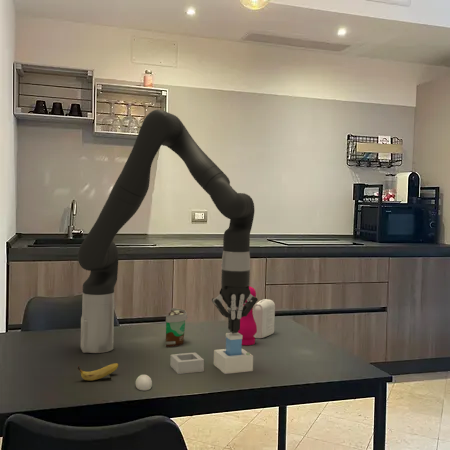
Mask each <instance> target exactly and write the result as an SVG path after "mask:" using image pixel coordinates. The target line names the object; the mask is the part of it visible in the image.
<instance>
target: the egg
mask: <svg viewBox="0 0 450 450" xmlns="http://www.w3.org/2000/svg"><path fill="white" fill-rule="evenodd" d="M152 386H153V381H152V378H151V377H150V376H149V375H147V374H140V375H139V376H138V377H137V378H136V380H135V388H136V389H137V390H139V391H144V392H145V391H149V390H150V389H151V388H152Z"/></svg>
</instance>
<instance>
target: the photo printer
mask: <svg viewBox="0 0 450 450" xmlns="http://www.w3.org/2000/svg"><path fill="white" fill-rule="evenodd" d="M275 315H276V304H275V302H274V300H272V299H266V298H264V299H261V300H259V301H257V302H256V303H255V305H254V306H253V317H254V320H255V323H256V326H257V332H256V334H255V335H254V336H253V337H255V339H262V338H263V339H264V338H266V337H268V336H271V335H273V334H274V333H275V318H276V317H275Z"/></svg>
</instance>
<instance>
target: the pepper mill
mask: <svg viewBox="0 0 450 450" xmlns="http://www.w3.org/2000/svg"><path fill="white" fill-rule="evenodd" d="M250 285H251V283H249V289H250V292H251V293H250V294H251V295H253V296H254V297H256V296H257V292H256V289H255V288H254V287H252V286H250ZM256 298H257V297H256ZM246 302H247V300H246V301H245V303H244V304H243V306H244V305H245V304H246ZM253 309H254V307H253V308H252V309H251V310H250V312H249V313H248V315H247V316H244V317H242V318H241V319H240V330H239V331H238V333H239V334H241V335H242V346H253V345H255V343H256V338H255V337H254V335H255V334H256V332H257V326H256V323H255V320H254V317H253Z"/></svg>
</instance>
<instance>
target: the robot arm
mask: <svg viewBox="0 0 450 450" xmlns="http://www.w3.org/2000/svg"><path fill="white" fill-rule="evenodd" d="M161 146H164V147H167V148H169V150H171V151H172V152H174V153H175V154H176V155H177V156H178V157H179V158H180V159H181V160H182V161H183V163H184V165H185V166H186V167H187V170H188V171H189V174H191V176H192V178H193V179H194V180H195V182H197V183H198V185H199V186H200V187H201V188H202V189H203V190H204V191H205V193H207V194H208V195H209V197H210V199H211V201H212V202H213V204H214V206H215V207H216V209H217V210H218V211H219V212H220V213H221V215H223V216H224V218H226V219H229V225H228V227H227V229H225V231H224V233H223V239H222V240H223V242H222V245H223V246H222V250H223V251H222V257H221V265H220V267H221V280H220V281H221V283H220V285H221V287H220V290H219V294H218V295H217V296H216V297H212V298H211V302H212V304H213V305H214V306H215V307H216V309H217V310H218V311H219V313H220V315H222V316H223V317H225V318H226V319H227V320H228V322H227V324H228V328H227V329H228V331H229V333H238V331H239V330H240V319H241V318H242V317H244V316H247V315H248V313H249V312H250V310H251V309H252V308H253V309H254V306H255V304H256V303H257V302H259V301H258V298H257V297H254V296H253V295H251V294H250V293H251V292H250V289H249V286H250V285H249V283H250V280H251V279H250V278H251V277H250V276H251V272H250V271H251V254H250V249H251V248H250V242H251V241H250V239H251V238H250V237H251V236H250V235H251V231H252V228H253V223H254V217H255V203H254V200H253V198H252V197H251V196H250V195H249V194H247V193H245V192H243V193H242V192H237V191H236V190H235V189H234V188H233V187H232V186H231V181H230V179H229V177H228V176H227V174H226V173H224V172H223V170H222V169H221V167H219V166H218V165H217V164H216V163H215V162H214V161H213V160H212V159H211V157H209V156H208V154H206V153H205V151H203V149H202V148H201V147H200V146H199V144H198V143H197V142H196V141H195V140H194V138H193V137H192V135H191V133H190V132H189V131H188V129H187V127H186V126H185V125H184V124H183V122H182V120H181V119H180V118H179V116H176V115H174V114H173V113H170V112H168V111H165V110H163V109H154V110H152V111H150V112H149V113H148V114H147V115H146V116H145V118H144V120H143V121H142V124H141V126H140V128H139V131H138V133H137V137H136V139H135V142H134V145H133V147H132V149H131V150H130V154H129V155H128V157H127V160H126V162H125V164H124V166H123V168H122V171H121V172H120V174H119V176H118V177H117V179H116V181H115V184H114V185H113V187H112V189H111V191H110V193H109V195H108V197H107V200H106V201H105V203H104V205H103V207H102V209H101V210H100V213H99V215H98V217H97V219H96V220H95V223H94V224H93V226H92V227H91V228H90V231H89V232H88V234H87V235H86V236H85V237H84V240H83V241H82V242H81V244H80V247H79V248H78V251H77V260H78V261H77V262H78V265H80V267H81V268H82V269H84V270H85V271H89V272H90V273H89V276H88V277H87V279H85V281H84V282H83V283H82V302H81V303H82V306H81V307H82V308H81V309H82V312H81V313H82V314H81V316H80V349H81V351H82V353H90V354H100V353H101V354H103V353H107V352H110V351H112V350H113V349H114V331H115V329H114V324H115V323H114V322H115V321H114V319H115V318H114V317H115V316H114V315H115V314H114V313H115V287H116V284H117V281H118V271H119V250H118V247H117V245H116V243H115V242H114V238H115V237H116V236H117V234H118V233H119V231H120V230H121V229H122V228H123V226H125V225H126V224H127V223H128V222H129V221H130V220H131V218H133V216H134V215H135V214H136V213H137V212H138V210H139V208H140V207H141V205H142V203H143V201H144V200H145V198H146V196H147V193H148V191H149V189H150V182H151V170H152V165H153V162H154V159H155V158H156V155H157V153H158V152H159V151H160V148H161ZM250 284H251V283H250ZM246 300H247V302H246V304H245V305H244V306H243V304H244V303H245V301H246ZM223 303H225V304H226V308H225V307H224V305H223Z"/></svg>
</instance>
